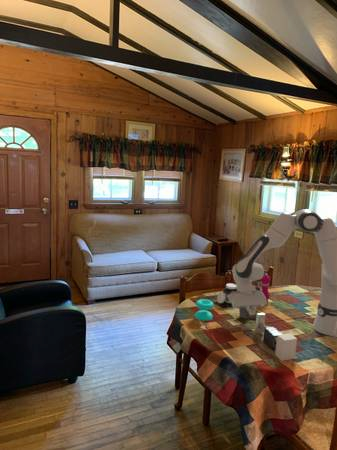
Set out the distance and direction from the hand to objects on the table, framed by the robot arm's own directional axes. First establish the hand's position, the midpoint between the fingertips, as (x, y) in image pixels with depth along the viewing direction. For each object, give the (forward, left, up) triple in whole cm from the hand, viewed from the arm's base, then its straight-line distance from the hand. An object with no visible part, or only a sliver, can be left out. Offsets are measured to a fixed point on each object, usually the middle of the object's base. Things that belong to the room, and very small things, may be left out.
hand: (252, 314), depth 185 cm
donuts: (+21, -17, -9) cm, 28 cm away
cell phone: (+18, -4, -9) cm, 20 cm away
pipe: (-5, -12, -9) cm, 15 cm away
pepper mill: (-27, -31, -8) cm, 42 cm away
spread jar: (-3, -35, -9) cm, 36 cm away
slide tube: (0, +15, -6) cm, 16 cm away
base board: (0, +18, -8) cm, 20 cm away
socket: (0, +29, -7) cm, 30 cm away
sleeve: (0, +19, -7) cm, 20 cm away
